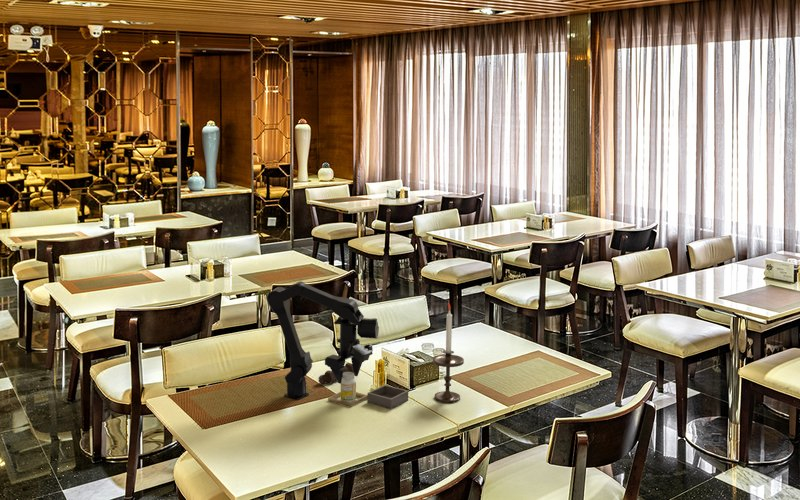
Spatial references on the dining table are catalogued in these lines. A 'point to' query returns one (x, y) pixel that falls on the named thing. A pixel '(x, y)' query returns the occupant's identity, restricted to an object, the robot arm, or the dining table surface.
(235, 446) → the dining table surface
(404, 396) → the tray
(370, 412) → the dining table surface
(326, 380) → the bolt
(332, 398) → the brown square frame
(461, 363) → the candlestick
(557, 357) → the dining table surface
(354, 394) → the supplement bottle
